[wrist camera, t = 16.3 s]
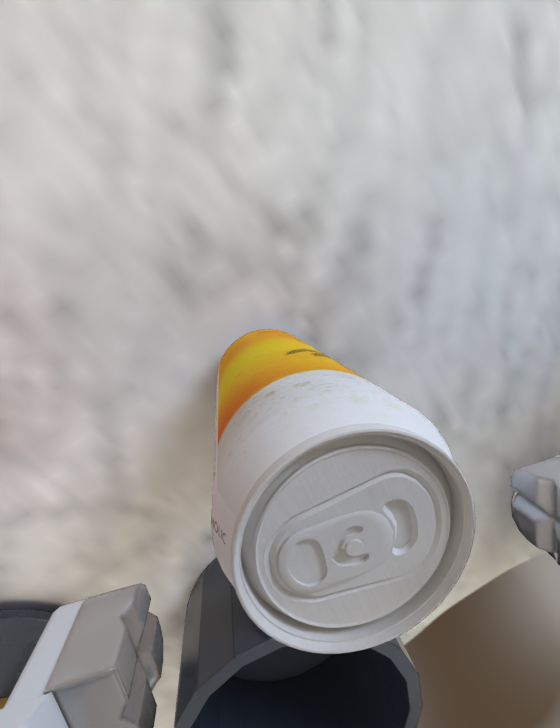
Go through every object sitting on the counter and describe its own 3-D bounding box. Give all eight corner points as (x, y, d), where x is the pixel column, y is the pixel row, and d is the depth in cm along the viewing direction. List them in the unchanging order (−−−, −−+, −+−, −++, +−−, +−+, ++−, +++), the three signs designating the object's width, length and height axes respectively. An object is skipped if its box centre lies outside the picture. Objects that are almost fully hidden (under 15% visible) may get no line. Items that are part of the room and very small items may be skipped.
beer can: (322, 405, 23) (504, 608, 8) (233, 433, 22) (258, 709, 7) (300, 316, 21) (475, 369, 7) (204, 343, 20) (164, 469, 6)
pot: (348, 472, 24) (404, 550, 17) (380, 672, 28) (435, 802, 21) (152, 526, 22) (119, 639, 15) (219, 729, 27) (219, 892, 20)
